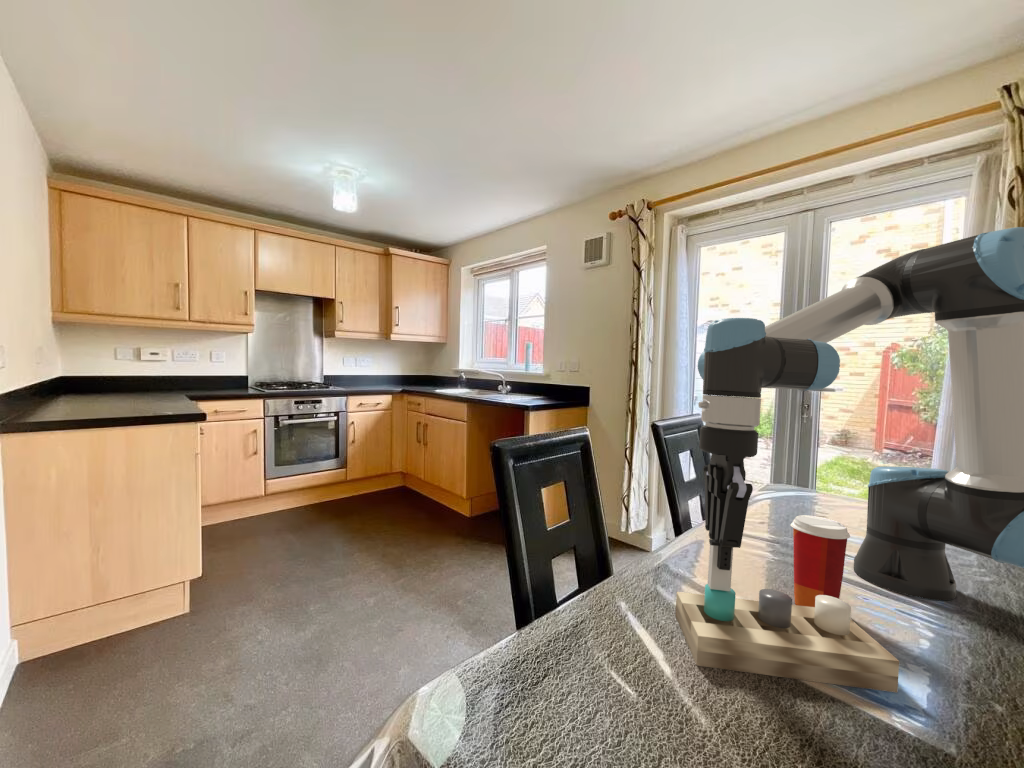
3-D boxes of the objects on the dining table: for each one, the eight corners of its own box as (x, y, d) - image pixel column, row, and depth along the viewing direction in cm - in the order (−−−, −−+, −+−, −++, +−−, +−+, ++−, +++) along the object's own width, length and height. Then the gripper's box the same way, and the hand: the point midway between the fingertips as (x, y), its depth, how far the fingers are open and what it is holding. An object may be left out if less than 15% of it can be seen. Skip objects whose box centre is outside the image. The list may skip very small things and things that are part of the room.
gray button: (782, 614, 63) (783, 590, 63) (796, 629, 59) (797, 604, 59) (753, 610, 63) (754, 587, 63) (765, 626, 59) (766, 601, 59)
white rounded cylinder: (838, 620, 62) (839, 596, 62) (856, 637, 58) (858, 611, 58) (808, 617, 62) (809, 593, 62) (824, 633, 58) (825, 607, 58)
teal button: (728, 607, 64) (729, 584, 64) (738, 622, 60) (740, 598, 60) (700, 604, 64) (701, 581, 64) (708, 619, 60) (709, 594, 60)
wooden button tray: (838, 635, 65) (840, 610, 65) (897, 692, 53) (899, 661, 53) (675, 616, 69) (676, 591, 69) (696, 665, 57) (698, 635, 57)
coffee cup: (834, 601, 76) (839, 518, 76) (854, 626, 68) (859, 533, 68) (780, 592, 79) (784, 511, 78) (793, 614, 71) (798, 525, 71)
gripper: (689, 420, 69) (680, 565, 69) (716, 429, 56) (705, 607, 56) (739, 423, 68) (729, 571, 68) (778, 433, 55) (766, 615, 55)
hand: (718, 587), depth 62 cm, fingers closed
